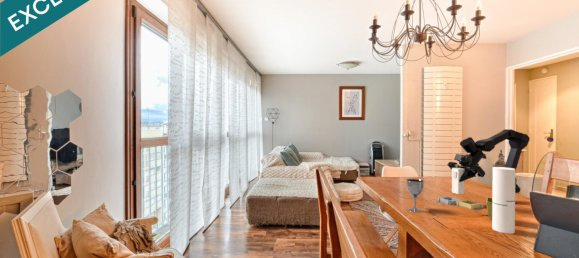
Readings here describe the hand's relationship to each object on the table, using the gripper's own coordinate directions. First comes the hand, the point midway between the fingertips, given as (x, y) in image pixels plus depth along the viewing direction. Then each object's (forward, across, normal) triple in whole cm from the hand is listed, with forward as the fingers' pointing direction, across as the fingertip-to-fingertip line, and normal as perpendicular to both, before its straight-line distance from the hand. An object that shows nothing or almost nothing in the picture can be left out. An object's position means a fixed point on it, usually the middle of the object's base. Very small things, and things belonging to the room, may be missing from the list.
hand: (456, 180), depth 141 cm
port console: (+8, 0, +11) cm, 14 cm away
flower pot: (+10, +23, +10) cm, 27 cm away
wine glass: (+28, +1, -9) cm, 29 cm away
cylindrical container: (+16, +32, +3) cm, 36 cm away
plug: (+4, 0, +6) cm, 7 cm away
